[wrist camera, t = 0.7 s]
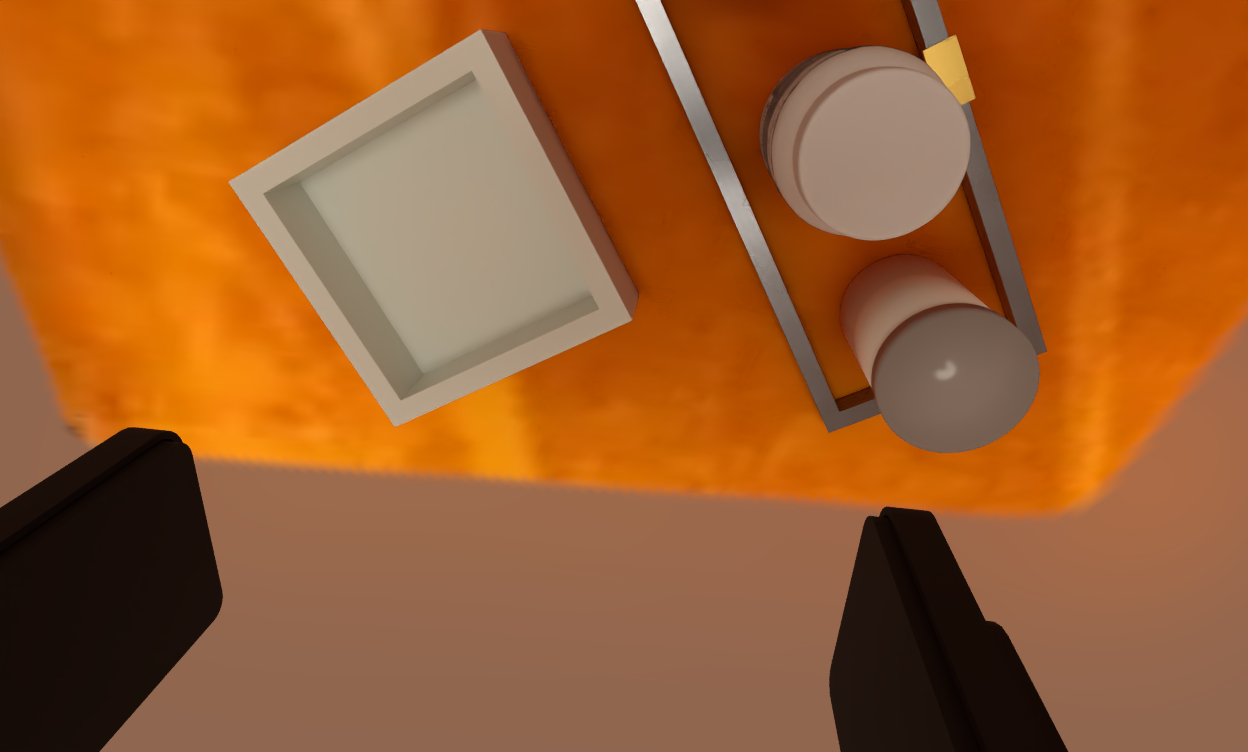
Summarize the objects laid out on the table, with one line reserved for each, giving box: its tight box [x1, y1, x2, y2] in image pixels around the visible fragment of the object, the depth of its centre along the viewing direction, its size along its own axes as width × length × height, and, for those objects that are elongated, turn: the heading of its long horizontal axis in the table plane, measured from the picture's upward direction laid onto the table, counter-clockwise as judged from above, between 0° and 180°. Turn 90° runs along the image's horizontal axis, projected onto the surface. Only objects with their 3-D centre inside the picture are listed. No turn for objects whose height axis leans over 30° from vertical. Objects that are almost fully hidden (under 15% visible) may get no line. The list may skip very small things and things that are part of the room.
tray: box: [229, 29, 639, 427], centre depth 31 cm, size 12×12×4 cm
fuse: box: [840, 255, 1040, 453], centre depth 28 cm, size 5×5×8 cm
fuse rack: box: [636, 0, 1047, 433], centre depth 28 cm, size 10×25×1 cm, turn 27°
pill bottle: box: [759, 46, 970, 240], centre depth 25 cm, size 6×6×10 cm
